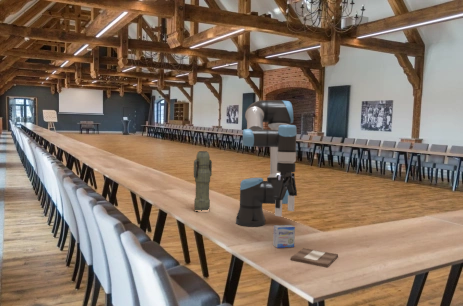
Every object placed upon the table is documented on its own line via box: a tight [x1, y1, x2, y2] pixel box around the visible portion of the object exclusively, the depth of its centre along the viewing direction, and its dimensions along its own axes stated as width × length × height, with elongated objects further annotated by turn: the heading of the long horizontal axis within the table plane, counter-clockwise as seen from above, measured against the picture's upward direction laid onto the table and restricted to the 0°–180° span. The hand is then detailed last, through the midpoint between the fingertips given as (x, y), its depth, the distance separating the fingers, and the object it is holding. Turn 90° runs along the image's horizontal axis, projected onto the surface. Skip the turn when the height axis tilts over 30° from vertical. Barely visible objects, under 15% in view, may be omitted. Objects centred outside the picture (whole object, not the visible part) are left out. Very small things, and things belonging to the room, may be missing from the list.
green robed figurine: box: [193, 150, 213, 211], centre depth 231 cm, size 9×12×35 cm
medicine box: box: [272, 224, 296, 249], centre depth 165 cm, size 8×4×9 cm, turn 105°
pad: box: [290, 247, 339, 268], centre depth 150 cm, size 14×14×1 cm
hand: (284, 213), depth 164 cm, fingers open, 13 cm apart
